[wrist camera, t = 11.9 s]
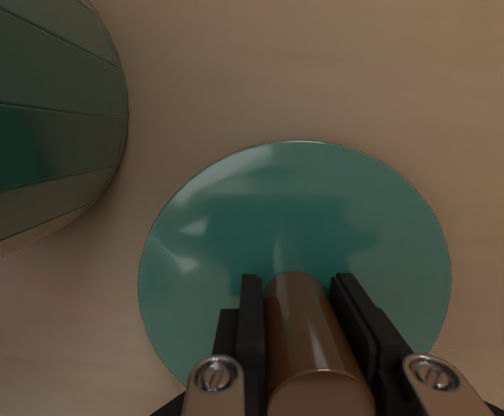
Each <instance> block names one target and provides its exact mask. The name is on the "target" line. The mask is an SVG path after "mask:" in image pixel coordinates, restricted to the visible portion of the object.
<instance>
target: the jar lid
mask: <svg viewBox="0 0 504 416" xmlns="http://www.w3.org/2000/svg"><path fill="white" fill-rule="evenodd" d="M337 273H352V274H353V275H354V276H355V278H356V279H357V280H358V282H359V283H360V285H361V286H362V287H363V289H364V290H365V292H366V293H367V294H368V296H369V297H370V299H371V300H372V301H373V303H374V304H375V306H376V307H379V308H381V309H382V310H383V311H384V313H385V314H386V315H387V317H388V318H389V319H390V321H391V322H392V323H393V325H394V326H395V328H396V329H397V330H398V332H399V333H400V334H401V336H402V337H403V338H404V340H405V341H406V343H407V344H408V345H409V347H410V348H411V349H412V351H413V352H414V353H424V354H428V352H429V351H430V349H431V348H432V346H433V344H434V342H435V340H436V338H437V337H438V335H439V333H440V330H441V327H442V325H443V322H444V320H445V317H446V313H447V309H448V304H449V300H450V292H451V280H452V279H451V263H450V257H449V252H448V247H447V243H446V240H445V237H444V235H443V232H442V229H441V227H440V224H439V222H438V220H437V219H436V217H435V215H434V213H433V211H432V210H431V208H430V206H429V205H428V203H427V202H426V201H425V200H424V198H423V197H422V196H421V195H420V193H419V192H418V191H417V189H415V188H414V187H413V186H412V185H411V184H410V183H409V182H408V181H407V180H406V179H405V178H404V177H403V176H402V175H400V174H399V173H398V172H396V171H395V170H393V169H392V168H390V167H389V166H387V165H386V164H385V163H383V162H381V161H379V160H377V159H375V158H373V157H371V156H369V155H367V154H365V153H363V152H360V151H357V150H354V149H351V148H348V147H345V146H342V145H337V144H332V143H327V142H321V141H308V140H286V141H274V142H269V143H264V144H259V145H255V146H250V147H248V148H245V149H242V150H239V151H237V152H234V153H231V154H229V155H227V156H225V157H223V158H221V159H219V160H218V161H216V162H214V163H212V164H210V165H209V166H207V167H206V168H204V169H203V170H202V171H200V172H199V173H197V174H196V175H195V176H193V177H192V178H190V179H189V180H188V181H187V182H186V183H185V184H184V185H183V186H182V187H181V188H180V189H179V190H178V191H177V192H176V193H175V194H174V195H173V196H172V198H171V199H170V200H169V201H168V203H167V204H166V205H165V206H164V208H163V209H162V210H161V212H160V214H159V215H158V217H157V219H156V220H155V222H154V224H153V226H152V227H151V230H150V232H149V235H148V237H147V240H146V242H145V245H144V248H143V252H142V256H141V260H140V265H139V275H138V297H139V306H140V311H141V316H142V320H143V323H144V326H145V329H146V332H147V335H148V337H149V339H150V341H151V343H152V345H153V347H154V349H155V351H156V353H157V354H158V356H159V357H160V359H161V360H162V361H163V363H164V364H165V366H166V367H167V368H168V369H169V370H170V372H171V373H172V374H173V375H174V376H175V377H176V378H177V379H178V380H179V381H180V382H181V383H182V384H183V385H184V386H187V381H188V376H189V373H190V371H191V369H192V367H193V366H194V365H195V364H196V363H197V362H198V361H200V360H201V359H203V358H205V357H208V356H211V355H212V351H213V346H214V341H215V335H216V330H217V325H218V320H219V315H220V310H221V309H239V304H240V293H241V282H242V274H256V278H262V292H263V311H264V330H265V379H266V386H265V391H264V401H265V416H376V403H375V399H374V396H373V394H372V392H371V390H370V387H369V385H368V383H367V381H366V379H365V377H364V374H363V372H362V370H361V368H360V366H359V363H358V361H357V359H356V357H355V355H354V352H353V350H352V348H351V346H350V344H349V342H348V339H347V337H346V335H345V333H344V331H343V328H342V326H341V324H340V322H339V320H338V317H337V315H336V313H335V311H334V309H333V307H332V304H331V302H330V284H331V277H336V274H337Z"/></svg>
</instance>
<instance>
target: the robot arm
mask: <svg viewBox="0 0 504 416" xmlns="http://www.w3.org/2000/svg"><path fill="white" fill-rule="evenodd" d="M330 302H331V304H332V307H333V309H334V311H335V313H336V315H337V317H338V320H339V322H340V324H341V326H342V328H343V331H344V333H345V335H346V337H347V339H348V342H349V344H350V346H351V348H352V350H353V352H354V355H355V357H356V359H357V361H358V363H359V366H360V368H361V370H362V372H363V374H364V377H365V379H366V381H367V383H368V385H369V387H370V390H371V392H372V394H373V396H374V399H375V403H376V416H504V410H502V409H500V408H498V407H496V406H494V405H492V404H490V403H488V402H486V401H483V400H482V398H481V397H480V396H479V394H478V393H477V392H476V391H475V389H474V388H473V387H472V386H471V384H470V383H469V382H468V381H467V379H466V378H465V377H464V375H463V374H462V373H461V372H460V371H459V370H458V369H457V368H456V367H455V366H453V365H452V364H450V363H449V362H447V361H445V360H443V359H441V358H439V357H436V356H433V355H430V354H424V353H414V352H413V351H412V349H411V348H410V347H409V345H408V344H407V343H406V341H405V340H404V338H403V337H402V336H401V334H400V333H399V332H398V330H397V329H396V328H395V326H394V325H393V323H392V322H391V321H390V319H389V318H388V317H387V315H386V314H385V313H384V311H383V310H382V309H381V308H379V307H376V306H375V304H374V303H373V301H372V300H371V299H370V297H369V296H368V294H367V293H366V292H365V290H364V289H363V287H362V286H361V285H360V283H359V282H358V280H357V279H356V278H355V276H354V275H353V274H352V273H337V274H336V277H331V284H330ZM265 386H266V379H265V330H264V311H263V292H262V278H256V274H242V282H241V293H240V304H239V309H221V310H220V315H219V320H218V325H217V330H216V335H215V341H214V346H213V351H212V355H211V356H208V357H205V358H203V359H201V360H200V361H198V362H197V363H196V364H195V365H194V366H193V367H192V369H191V371H190V373H189V376H188V381H187V386H186V391H184V392H183V393H181V394H180V395H179V396H177V397H176V398H174V399H173V400H171V401H170V402H168V403H167V404H166V405H164V406H163V407H161V408H160V409H158V410H157V411H155V412H154V413H153V414H151V415H150V416H265V401H264V391H265Z"/></svg>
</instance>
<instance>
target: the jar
mask: <svg viewBox="0 0 504 416" xmlns="http://www.w3.org/2000/svg"><path fill="white" fill-rule="evenodd" d="M127 126H128V100H127V91H126V85H125V79H124V74H123V71H122V67H121V64H120V61H119V57H118V54H117V52H116V49H115V47H114V44H113V42H112V40H111V37H110V35H109V33H108V31H107V29H106V28H105V26H104V24H103V22H102V20H101V19H100V17H99V15H98V13H97V12H96V10H95V9H94V8H93V6H92V5H91V4H90V2H89V1H88V0H0V258H1V257H3V256H5V255H7V254H9V253H11V252H13V251H15V250H17V249H20V248H22V247H24V246H26V245H28V244H30V243H32V242H34V241H36V240H38V239H40V238H43V237H45V236H47V235H49V234H51V233H53V232H55V231H57V230H59V229H61V228H63V227H64V226H66V225H67V224H68V223H70V222H71V221H73V220H75V219H76V218H78V217H79V216H80V215H82V214H83V213H84V212H86V211H87V210H88V209H89V208H90V207H91V206H92V205H93V204H94V203H95V202H96V201H97V200H98V199H99V198H100V196H101V195H102V194H103V192H104V191H105V190H106V188H107V187H108V186H109V184H110V182H111V180H112V178H113V176H114V175H115V173H116V171H117V168H118V166H119V163H120V160H121V157H122V155H123V151H124V146H125V141H126V137H127Z"/></svg>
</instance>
